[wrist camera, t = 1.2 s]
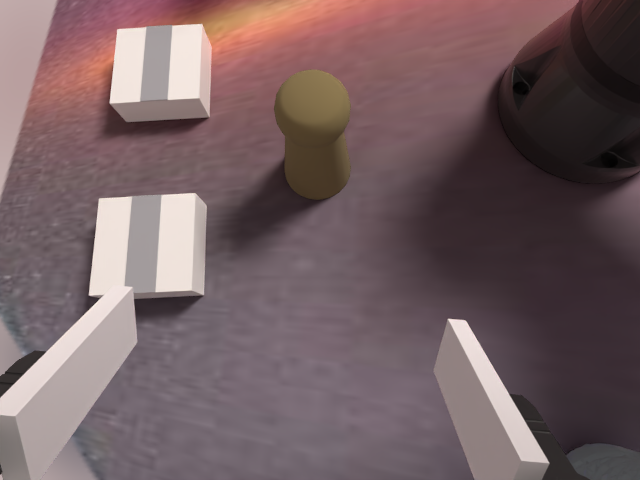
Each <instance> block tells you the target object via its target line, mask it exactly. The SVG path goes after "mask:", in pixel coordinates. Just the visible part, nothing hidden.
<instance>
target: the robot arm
mask: <svg viewBox="0 0 640 480" xmlns="http://www.w3.org/2000/svg"><path fill="white" fill-rule="evenodd" d="M498 109H499V114H500V118H501V122H502V124H503V127H504V129H505V131H506V133H507V135H508V136H509V138H510V140H511V141H512V142H513V144H514V145H515V146H516V148H517V149H518V150H519V151H520V152H521V153H522V154H523V155H524V156H525V157H526V158H527V159H529V160H530V161H531V162H533V163H534V164H535V165H537V166H538V167H540V168H542V169H543V170H545V171H547V172H549V173H551V174H553V175H556V176H558V177H561V178H564V179H567V180H571V181H576V182H582V183H608V182H614V181H618V180H621V179H624V178H627V177H629V176H632V175H634V174H636V173H637V172H639V171H640V0H579V2H578V3H577V5H576V6H574V7H573V8H572V9H570V10H569V11H568V12H566V13H565V14H564V15H563V16H561V17H560V18H559V19H557V20H556V21H555V22H553V23H552V24H551V25H549V26H548V27H547V28H546V29H544V30H543V31H542V32H540V33H539V34H538V35H536V36H535V37H534V38H533V39H531V40H530V41H529V42H528V43H527V44H526V45H525V46H524V47H523V48H522V49H521V50H520V51H519V53H518V54H517V55H516V57H515V58H514V60H513V62H512V63H511V65H510V66H509V68H508V69H507V71H506V73H505V74H504V76H503V79H502V81H501V84H500V88H499V93H498ZM136 343H137V332H136V319H135V307H134V294H133V287H128V286H118V285H114V286H113V287H112V288H111V289H110V290H109V291H108V292H107V293H106V294H104V295H103V296H102V297H101V298H100V299H99V300H98V301H97V302H96V303H95V304H94V305H93V306H92V307H91V308H90V309H89V310H88V311H87V312H86V313H85V314H84V315H83V316H82V317H81V318H80V319H79V320H78V321H77V322H76V323H75V324H74V325H73V326H72V327H71V328H70V329H69V330H68V331H67V332H66V333H65V334H64V335H63V336H62V337H61V338H60V339H59V340H58V341H57V342H56V343H55V344H54V345H53V346H52V347H51V348H50V349H49V350H48V351H47V352H45V351H33V352H32V353H30V354H28V355H26V356H24V357H23V358H21V359H19V360H18V361H16V362H15V363H14V364H13V365H12V366H11V367H10V368H9V369H8V370H7V371H6V372H5V374H2V375H1V376H0V474H2V477H3V480H41V478H42V477H43V476H44V474H45V473H46V471H47V470H48V469H49V467H50V466H51V464H52V463H53V461H54V460H55V459H56V457H57V456H58V454H59V453H60V451H61V450H62V449H63V447H64V446H65V444H66V443H67V442H68V440H69V439H70V437H71V436H72V434H73V433H74V432H75V430H76V429H77V427H78V426H79V424H80V423H81V422H82V420H83V419H84V417H85V416H86V414H87V413H88V412H89V410H90V409H91V407H92V406H93V405H94V403H95V402H96V400H97V399H98V397H99V396H100V395H101V393H102V392H103V390H104V389H105V387H106V386H107V385H108V383H109V382H110V380H111V379H112V378H113V376H114V375H115V373H116V372H117V370H118V369H119V368H120V366H121V365H122V363H123V362H124V360H125V359H126V358H127V356H128V355H129V353H130V352H131V351H132V349H133V348H134V346H135V345H136ZM433 371H434V373H435V376H436V379H437V381H438V384H439V387H440V389H441V392H442V395H443V397H444V400H445V403H446V405H447V408H448V411H449V413H450V416H451V419H452V421H453V424H454V427H455V429H456V432H457V435H458V437H459V440H460V443H461V445H462V448H463V451H464V453H465V456H466V459H467V461H468V464H469V466H470V469H471V472H472V474H473V477H474V480H590V479H588V478H587V477H584V476H582V475H580V474H578V473H577V472H576V471H575V469H574V468H573V466H572V464H571V463H570V461H569V460H568V458H567V457H566V455H565V453H564V452H563V450H562V449H561V447H560V446H559V444H558V443H557V441H556V439H555V438H554V436H553V435H552V434H550V430H549V429H548V427H547V425H546V424H545V423H543V419H542V418H541V416H540V415H539V413H538V411H537V410H536V408H535V407H534V406H533V405H532V404H531V403H530V402H529V401H527V400H526V399H525V398H524V397H523V396H522V395H512V394H509V393H508V392H507V390H506V388H505V387H504V385H503V383H502V381H501V380H500V378H499V376H498V375H497V373H496V371H495V370H494V368H493V366H492V364H491V363H490V361H489V359H488V358H487V356H486V354H485V352H484V351H483V349H482V347H481V346H480V344H479V342H478V341H477V339H476V337H475V335H474V334H473V332H472V330H471V329H470V327H469V325H468V323H467V322H466V320H456V319H448V320H447V324H446V327H445V331H444V334H443V338H442V341H441V345H440V349H439V352H438V356H437V359H436V363H435V367H434V370H433Z"/></svg>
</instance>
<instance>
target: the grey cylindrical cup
mask: <svg viewBox="0 0 640 480" xmlns="http://www.w3.org/2000/svg"><path fill="white" fill-rule="evenodd" d="M566 457H567V458H568V460H569V461H570V463H571V464H572V466H573V468H574V469H575V471H576V472H577V473H578V474H580V475H582V476H584V477H587V478H588V479H590V480H640V452H637V451H633V450H629V449H626V448H623V447H620V446H616V445H611V444H605V443H594V444H585V445H583V446H582V447H580V448H575V450H573V451H570V452H569V454H567V455H566Z"/></svg>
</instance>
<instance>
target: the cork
mask: <svg viewBox="0 0 640 480" xmlns="http://www.w3.org/2000/svg"><path fill="white" fill-rule="evenodd" d="M350 107H351V104H350V100H349V96H348V93H347V90H346V89H345V87H344V86H343V84H342V83H341V82H340V81H339V80H338V79H336V78H335V77H334V76H332V75H331V74H329V73H327V72H324V71H321V70H305V71H300V72H298V73H296V74H294V75H292V76H291V77H290V78H289V79H287V80H286V81H285V82H284V83H283V84H282V85H281V87H280V89H279V91H278V93H277V94H276V100H275V106H274V112H275V117H276V121H277V125H278V126H279V128H280V130H281V131H282V133H283V134H284V135H285V168H284V171H285V176H286V180H287V182H288V184H289V185H290V187H291V188H292V189H293V190H294V191H295V192H296V193H297V194H299V195H301V196H303V197H306V198H308V199H317V200H320V199H325V198H329V197H331V196H333V195H335V194H337V193H339V192H340V191H341V189H342V188H343V187H344V186H345V185H346V183H347V181H348V179H349V177H350V169H351V166H350V161H349V156H348V151H347V145H346V140H345V135H344V130H345V128H346V126H347V124H348V122H349V117H350Z"/></svg>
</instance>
